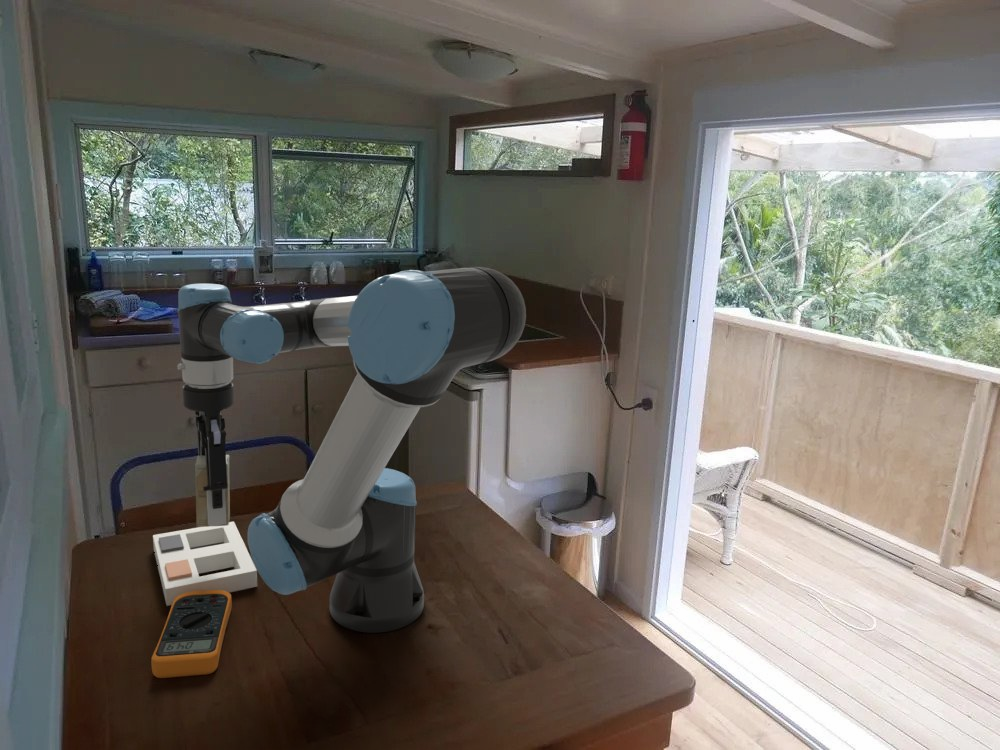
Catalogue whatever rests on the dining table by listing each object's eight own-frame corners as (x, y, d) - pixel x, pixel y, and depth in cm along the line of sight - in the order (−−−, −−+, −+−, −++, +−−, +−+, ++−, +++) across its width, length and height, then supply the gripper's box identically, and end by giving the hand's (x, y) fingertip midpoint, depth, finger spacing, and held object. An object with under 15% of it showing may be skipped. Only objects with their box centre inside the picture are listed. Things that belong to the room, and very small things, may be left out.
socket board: (257, 586, 124) (256, 567, 123) (166, 605, 117) (165, 586, 116) (234, 535, 141) (233, 519, 140) (153, 550, 134) (152, 532, 133)
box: (196, 528, 120) (192, 464, 117) (198, 516, 124) (195, 454, 121) (230, 525, 122) (227, 462, 119) (231, 514, 126) (229, 453, 123)
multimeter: (234, 605, 119) (233, 586, 118) (217, 677, 102) (216, 655, 101) (177, 609, 117) (175, 590, 116) (150, 683, 100) (148, 661, 99)
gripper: (175, 370, 122) (182, 499, 128) (190, 400, 107) (198, 545, 113) (222, 366, 126) (227, 492, 132) (244, 395, 111) (249, 536, 117)
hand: (214, 516), depth 123 cm, fingers closed on box, 5 cm apart
